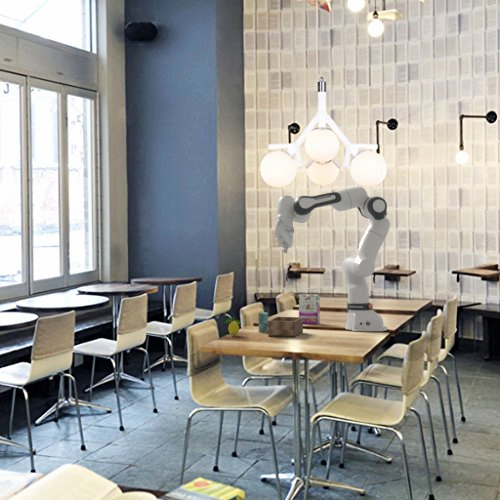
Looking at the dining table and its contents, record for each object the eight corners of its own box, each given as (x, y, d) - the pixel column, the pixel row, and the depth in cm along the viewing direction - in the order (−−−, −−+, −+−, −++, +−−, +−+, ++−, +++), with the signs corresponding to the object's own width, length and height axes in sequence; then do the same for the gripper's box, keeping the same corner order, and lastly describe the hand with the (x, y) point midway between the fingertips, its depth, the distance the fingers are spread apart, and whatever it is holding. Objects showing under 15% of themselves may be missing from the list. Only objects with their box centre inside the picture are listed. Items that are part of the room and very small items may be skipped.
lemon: (225, 336, 408) (224, 316, 408) (230, 334, 414) (230, 315, 413) (236, 337, 405) (236, 317, 405) (242, 335, 410) (241, 316, 410)
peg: (268, 331, 424) (267, 312, 423) (266, 332, 420) (265, 313, 420) (260, 331, 425) (260, 312, 425) (258, 332, 421) (258, 313, 421)
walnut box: (302, 332, 418) (302, 317, 417) (295, 337, 402) (295, 321, 401) (277, 331, 422) (276, 316, 422) (268, 336, 406) (268, 320, 405)
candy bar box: (320, 323, 451) (320, 294, 450) (317, 324, 447) (317, 295, 446) (301, 322, 455) (301, 294, 455) (298, 323, 451) (298, 294, 450)
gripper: (284, 217, 410) (283, 242, 405) (294, 232, 428) (293, 256, 423) (273, 217, 412) (271, 242, 407) (283, 232, 430) (282, 256, 425)
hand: (282, 249), depth 415 cm, fingers open, 8 cm apart
